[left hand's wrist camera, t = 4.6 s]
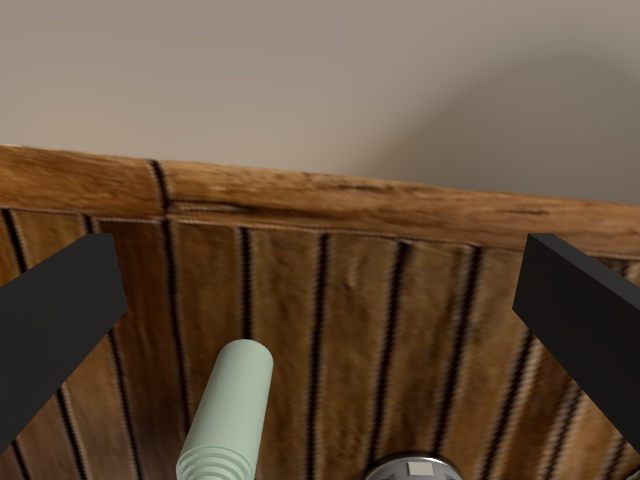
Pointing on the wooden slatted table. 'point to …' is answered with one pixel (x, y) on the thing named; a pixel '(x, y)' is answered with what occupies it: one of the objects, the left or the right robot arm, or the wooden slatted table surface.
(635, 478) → the fossil
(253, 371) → the bottle
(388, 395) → the wooden slatted table surface
